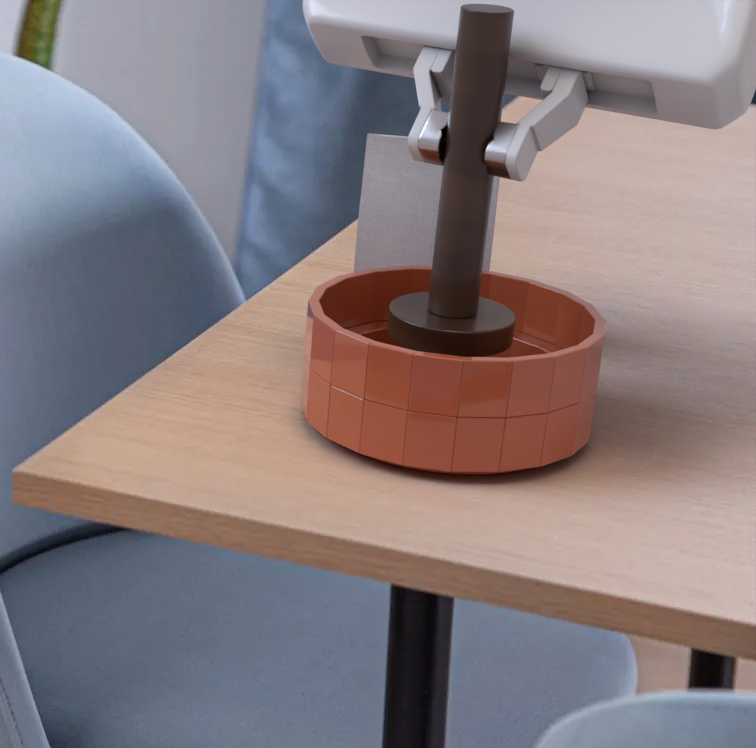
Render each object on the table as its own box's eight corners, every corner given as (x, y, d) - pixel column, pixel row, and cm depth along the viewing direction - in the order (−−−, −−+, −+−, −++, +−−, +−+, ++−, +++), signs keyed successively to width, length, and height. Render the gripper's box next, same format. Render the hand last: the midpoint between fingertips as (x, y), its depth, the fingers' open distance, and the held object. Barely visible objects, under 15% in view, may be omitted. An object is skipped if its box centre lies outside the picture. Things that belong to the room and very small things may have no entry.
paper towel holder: (472, 311, 82) (510, -4, 76) (536, 352, 77) (583, 19, 71) (364, 321, 80) (395, -3, 74) (424, 363, 75) (461, 21, 69)
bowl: (494, 363, 88) (507, 257, 86) (646, 464, 77) (665, 345, 75) (256, 389, 83) (263, 277, 81) (382, 499, 72) (394, 373, 70)
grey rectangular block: (480, 348, 90) (502, 154, 86) (348, 336, 91) (364, 142, 86) (481, 325, 93) (503, 137, 89) (354, 313, 94) (370, 126, 90)
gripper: (355, -169, 80) (230, 80, 77) (806, -123, 71) (686, 162, 67) (390, -73, 85) (275, 163, 82) (813, -19, 76) (703, 250, 73)
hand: (464, 163), depth 74 cm, fingers closed on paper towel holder, 2 cm apart
